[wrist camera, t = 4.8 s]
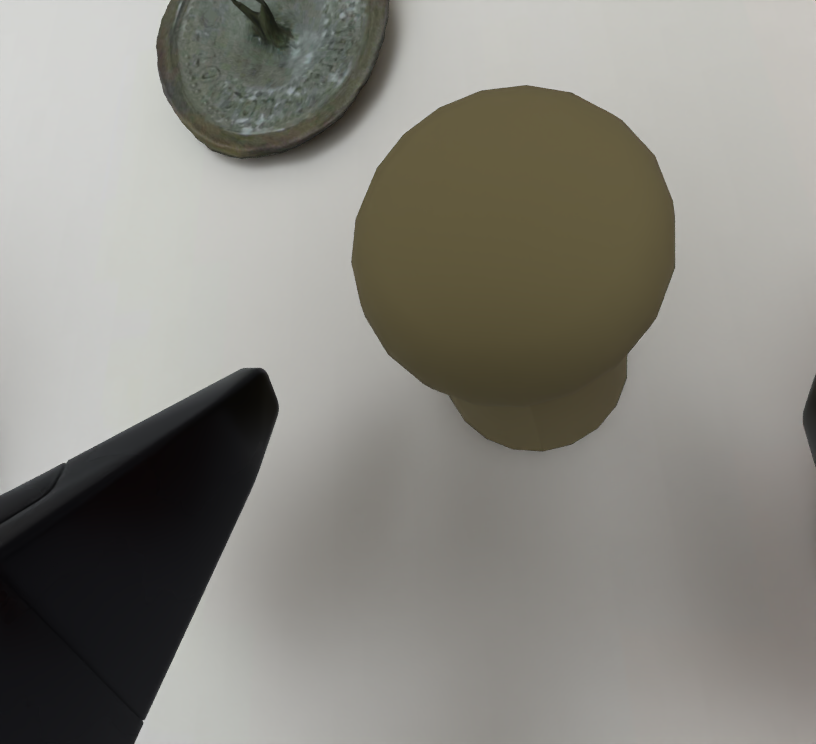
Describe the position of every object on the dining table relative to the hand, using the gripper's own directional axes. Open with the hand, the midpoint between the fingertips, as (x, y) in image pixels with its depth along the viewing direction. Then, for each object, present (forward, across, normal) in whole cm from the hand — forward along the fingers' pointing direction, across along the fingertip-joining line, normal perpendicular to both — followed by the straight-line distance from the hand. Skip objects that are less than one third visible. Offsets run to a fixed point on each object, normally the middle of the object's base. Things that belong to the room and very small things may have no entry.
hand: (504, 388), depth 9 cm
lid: (+18, +10, -5) cm, 21 cm away
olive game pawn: (+8, 0, +5) cm, 9 cm away
